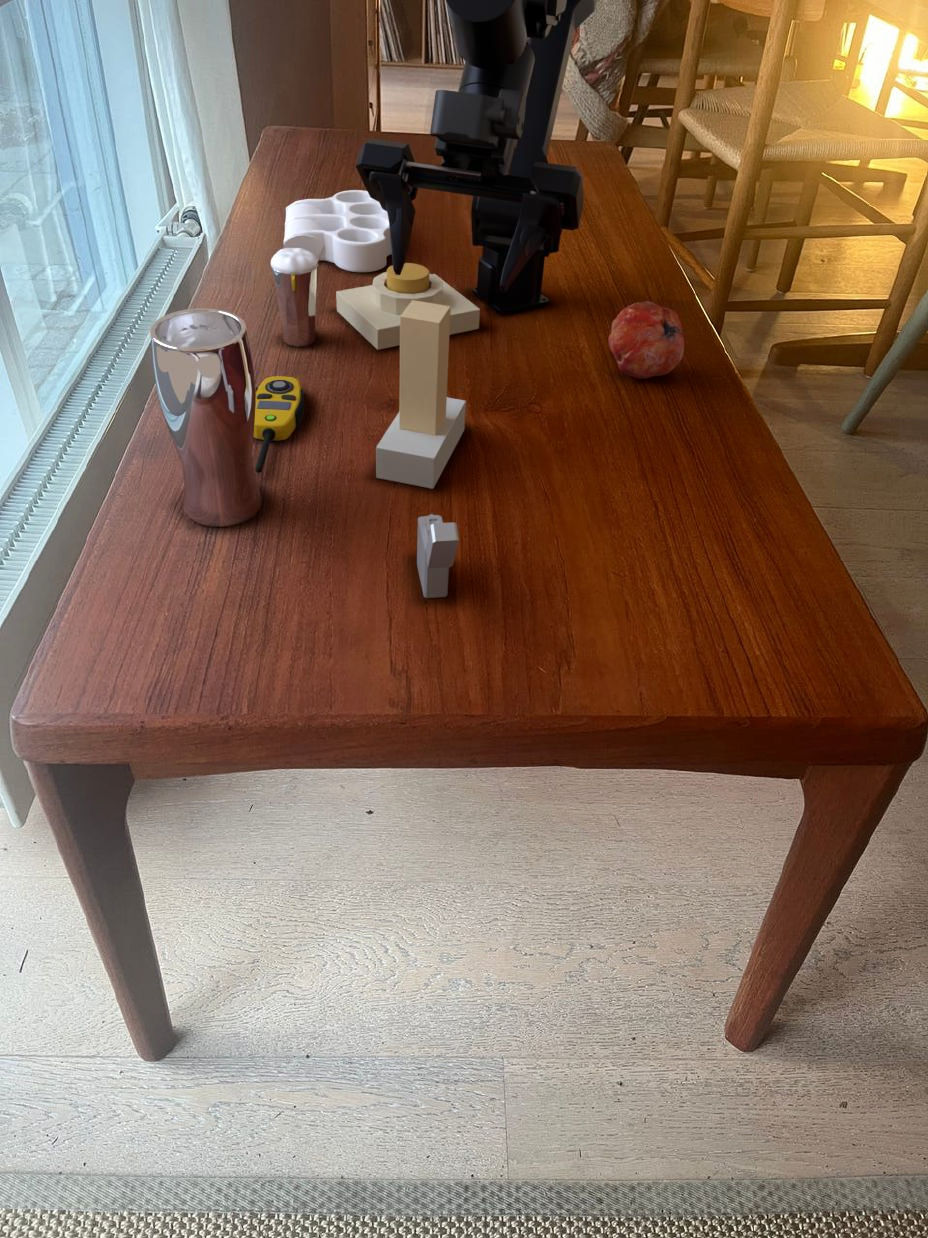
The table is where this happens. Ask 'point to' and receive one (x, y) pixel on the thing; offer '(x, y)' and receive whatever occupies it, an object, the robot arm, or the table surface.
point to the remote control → (277, 411)
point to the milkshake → (296, 294)
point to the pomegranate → (646, 340)
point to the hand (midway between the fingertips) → (448, 281)
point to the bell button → (408, 279)
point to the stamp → (422, 402)
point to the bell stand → (400, 309)
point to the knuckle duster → (341, 230)
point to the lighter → (435, 554)
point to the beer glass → (209, 410)
